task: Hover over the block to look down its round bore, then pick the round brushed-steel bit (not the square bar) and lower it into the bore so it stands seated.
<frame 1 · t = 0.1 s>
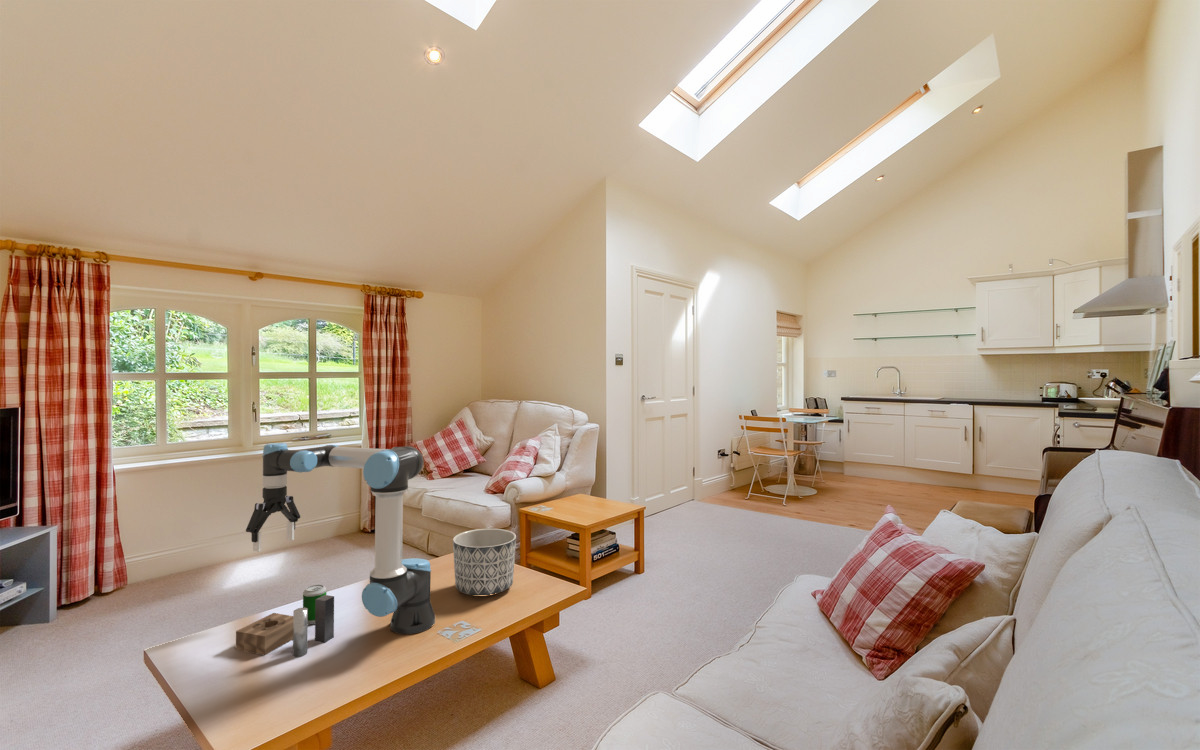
hand: (274, 545, 192), 28 cm above the table, fingers open, 13 cm apart
bore block: (269, 642, 177), on the table
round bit: (300, 653, 170), on the table
soda can: (314, 621, 193), on the table
square bit: (324, 639, 180), on the table
planter: (484, 589, 223), on the table
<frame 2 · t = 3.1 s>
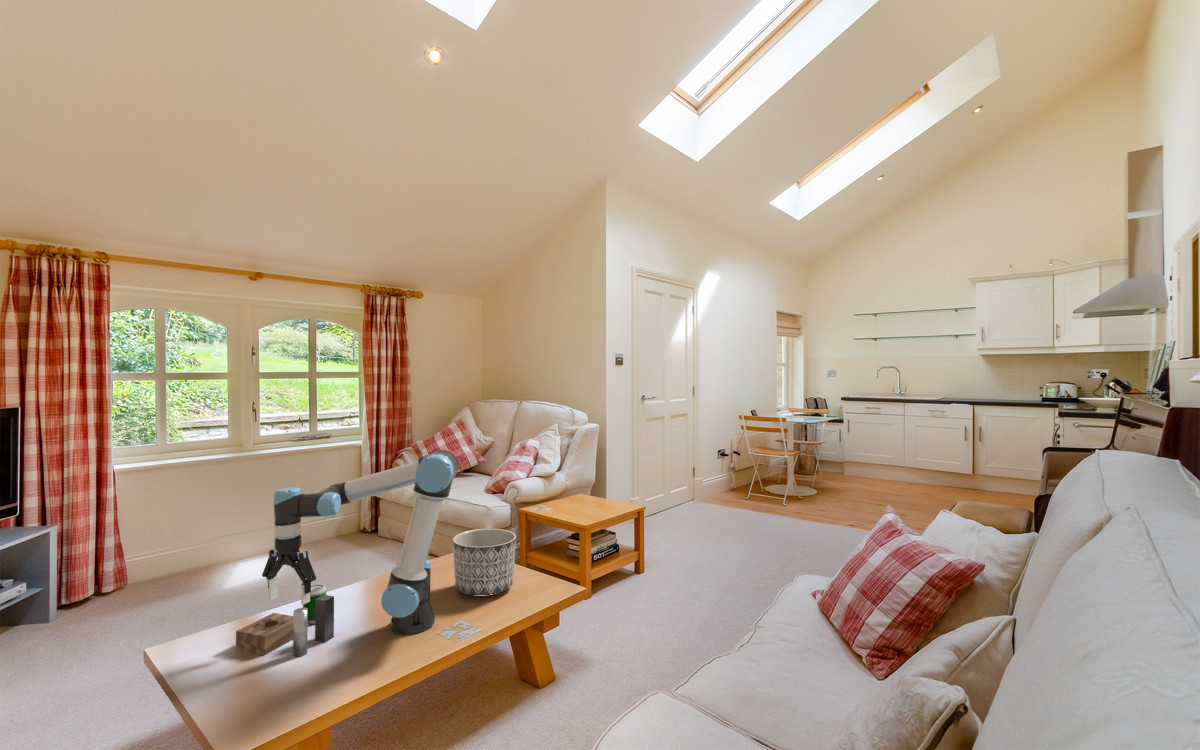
hand: (289, 600, 173), 16 cm above the table, fingers open, 13 cm apart
nothing on the table moved.
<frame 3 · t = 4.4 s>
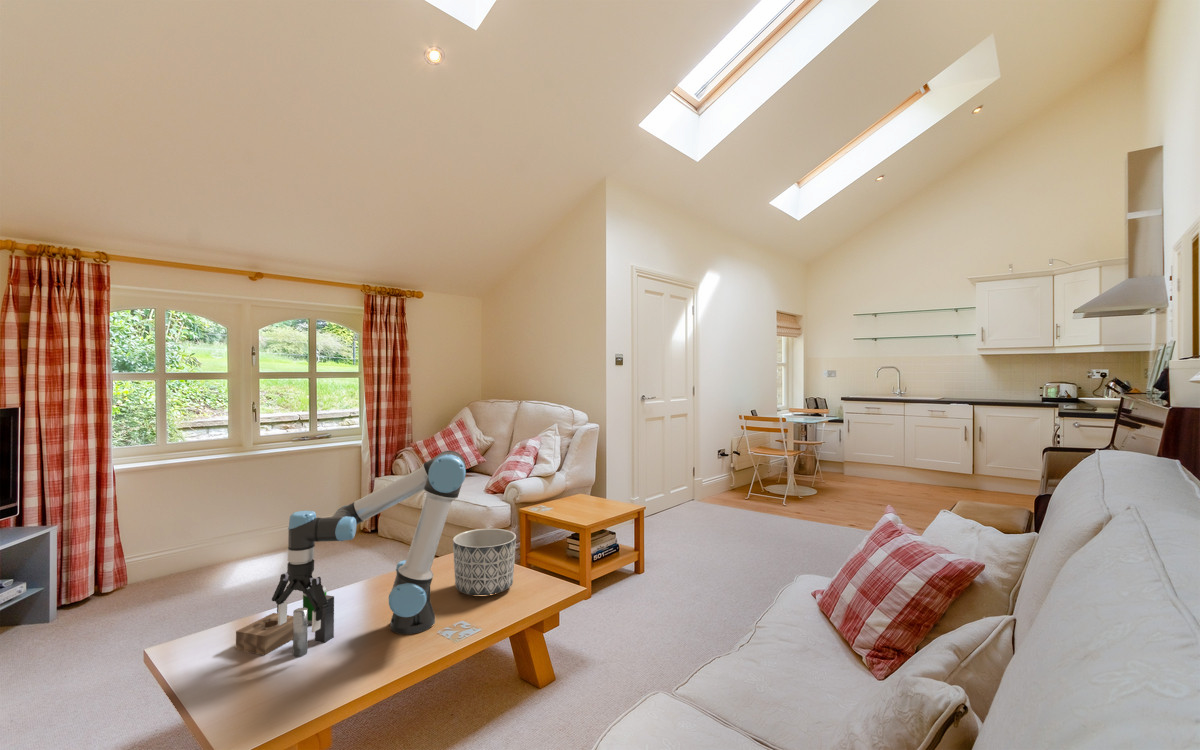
hand: (299, 626, 170), 9 cm above the table, fingers open, 13 cm apart
nothing on the table moved.
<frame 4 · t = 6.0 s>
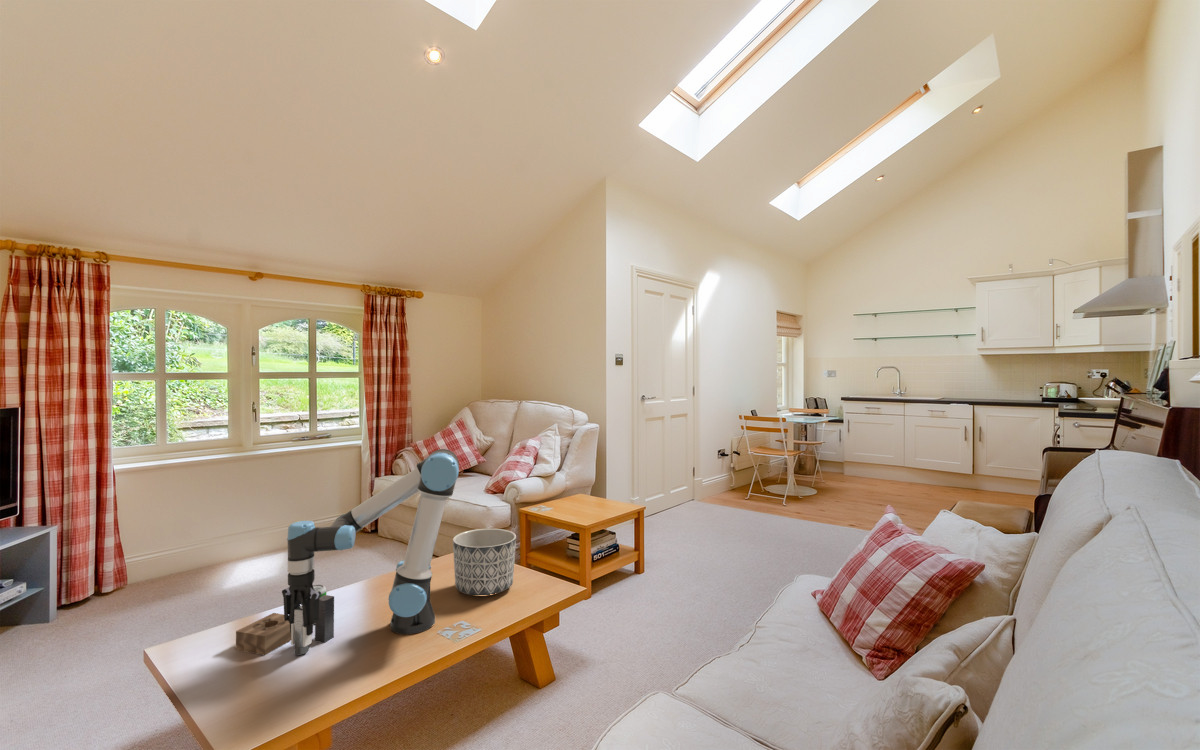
hand: (301, 643, 170), 3 cm above the table, fingers closed on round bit, 4 cm apart
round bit: (301, 651, 170), point 1 cm above the table, touching gripper
everything else where it was.
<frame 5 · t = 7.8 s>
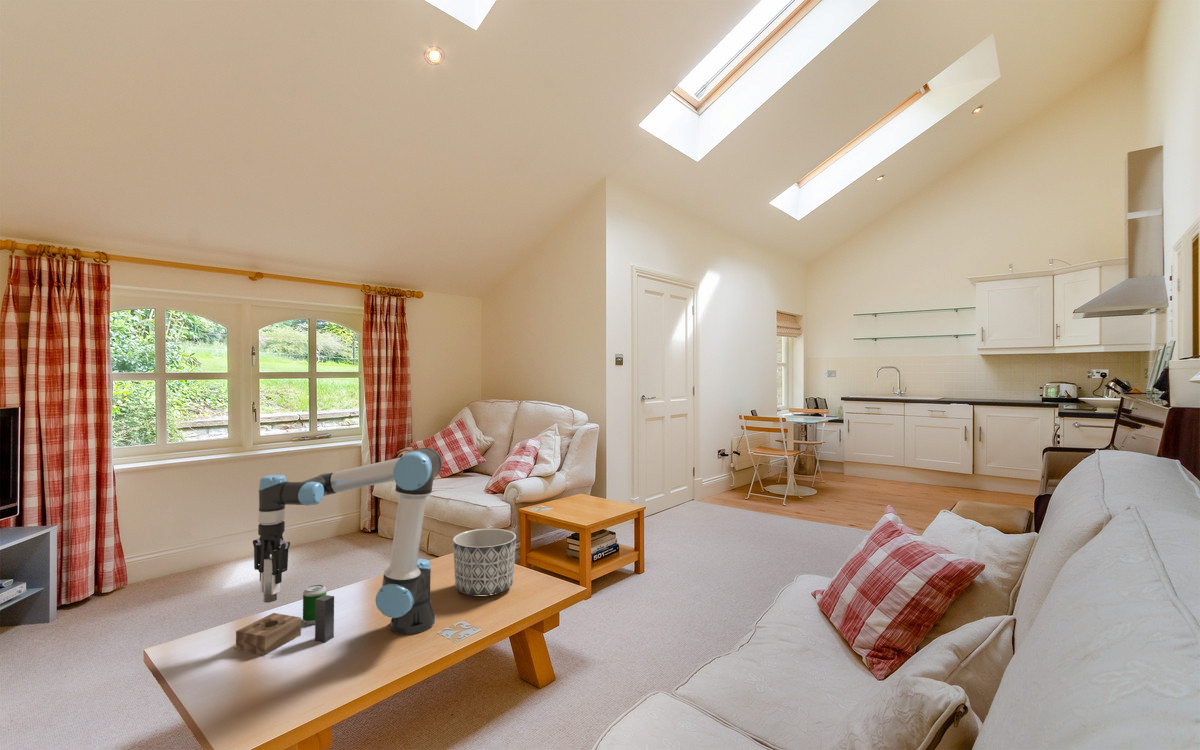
hand: (270, 591, 177), 17 cm above the table, fingers closed on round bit, 4 cm apart
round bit: (270, 600, 177), point 14 cm above the table, touching gripper
everything else where it was.
when the fingers open (7 cm above the table, at t = 9.9 s): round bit drops 4 cm, resting in bore block.
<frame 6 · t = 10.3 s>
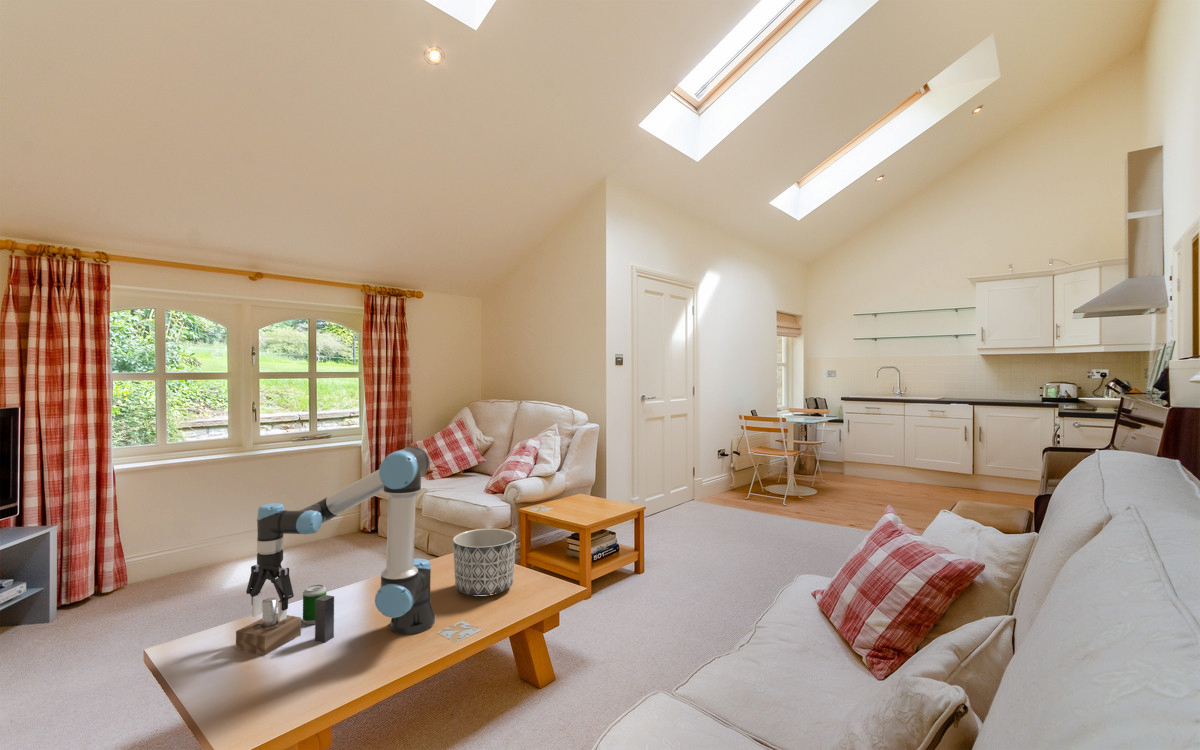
hand: (269, 617, 177), 8 cm above the table, fingers open, 10 cm apart
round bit: (269, 642, 177), resting in bore block
everything else where it was.
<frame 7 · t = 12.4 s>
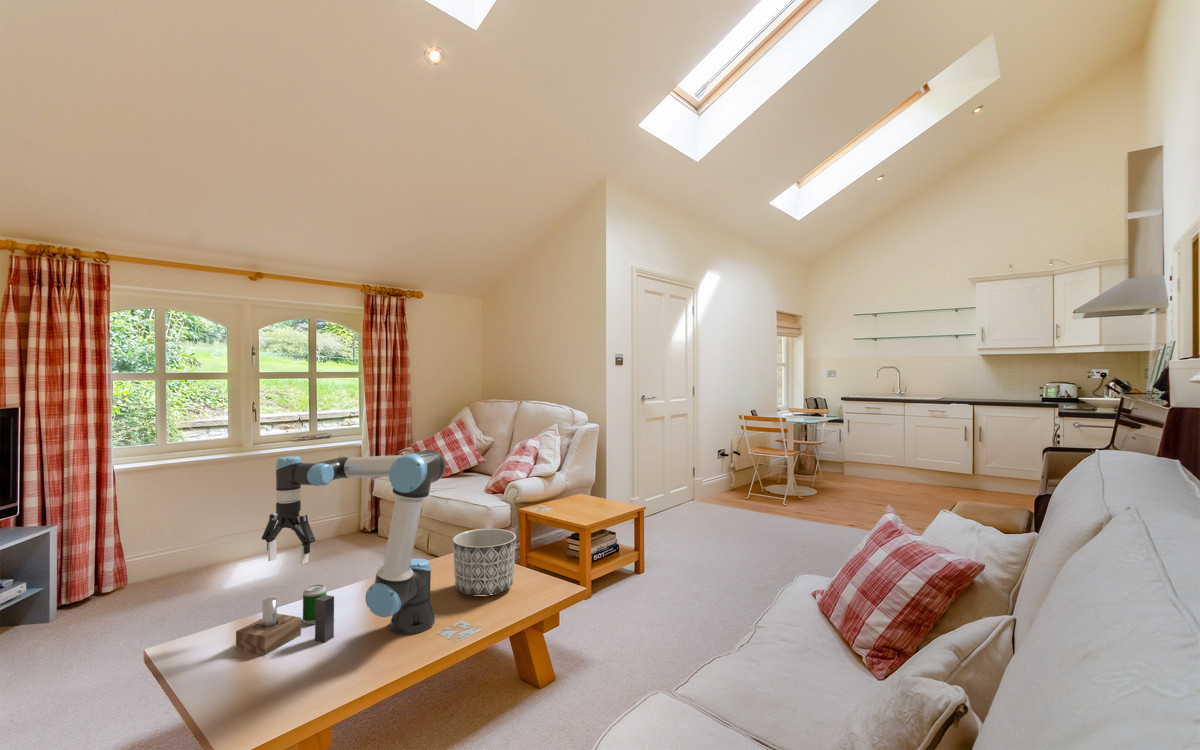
hand: (288, 561, 186), 24 cm above the table, fingers open, 13 cm apart
nothing on the table moved.
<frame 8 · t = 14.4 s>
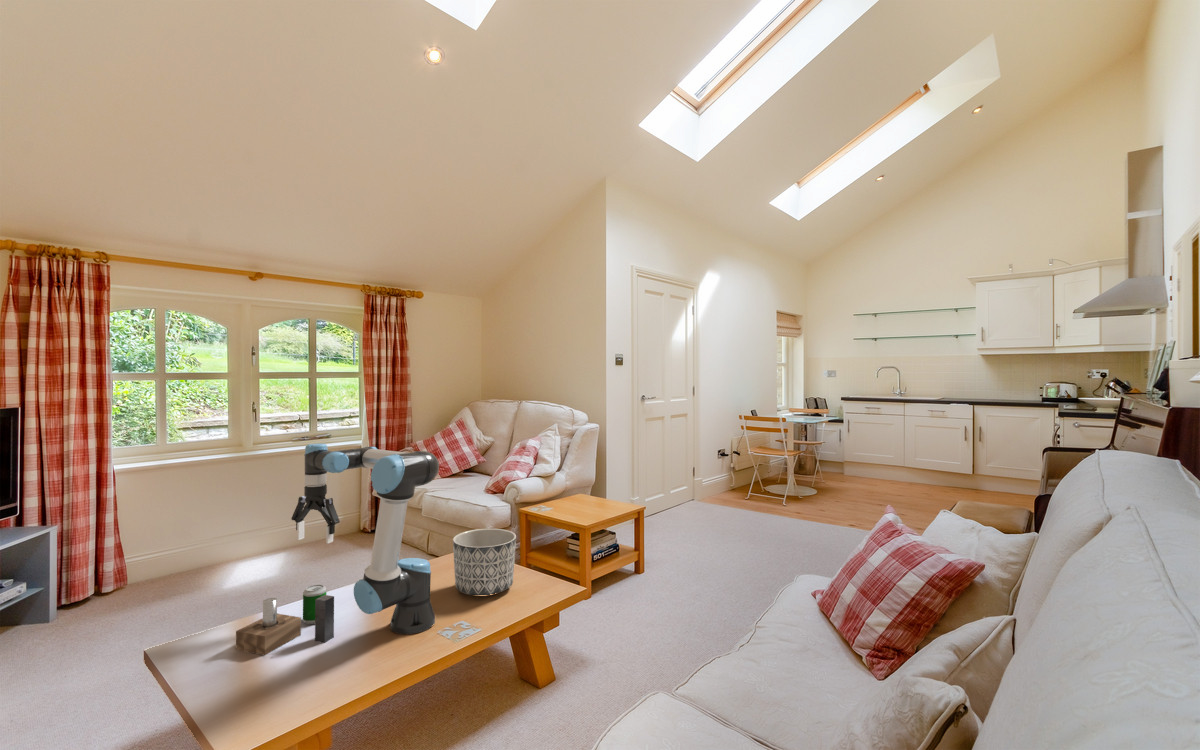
hand: (315, 540, 201), 27 cm above the table, fingers open, 13 cm apart
nothing on the table moved.
at the end: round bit 0.1 cm off-centre in the bore block, point 0.0 cm above the bore block's base; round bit tilted 0°; the gripper is holding nothing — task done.
